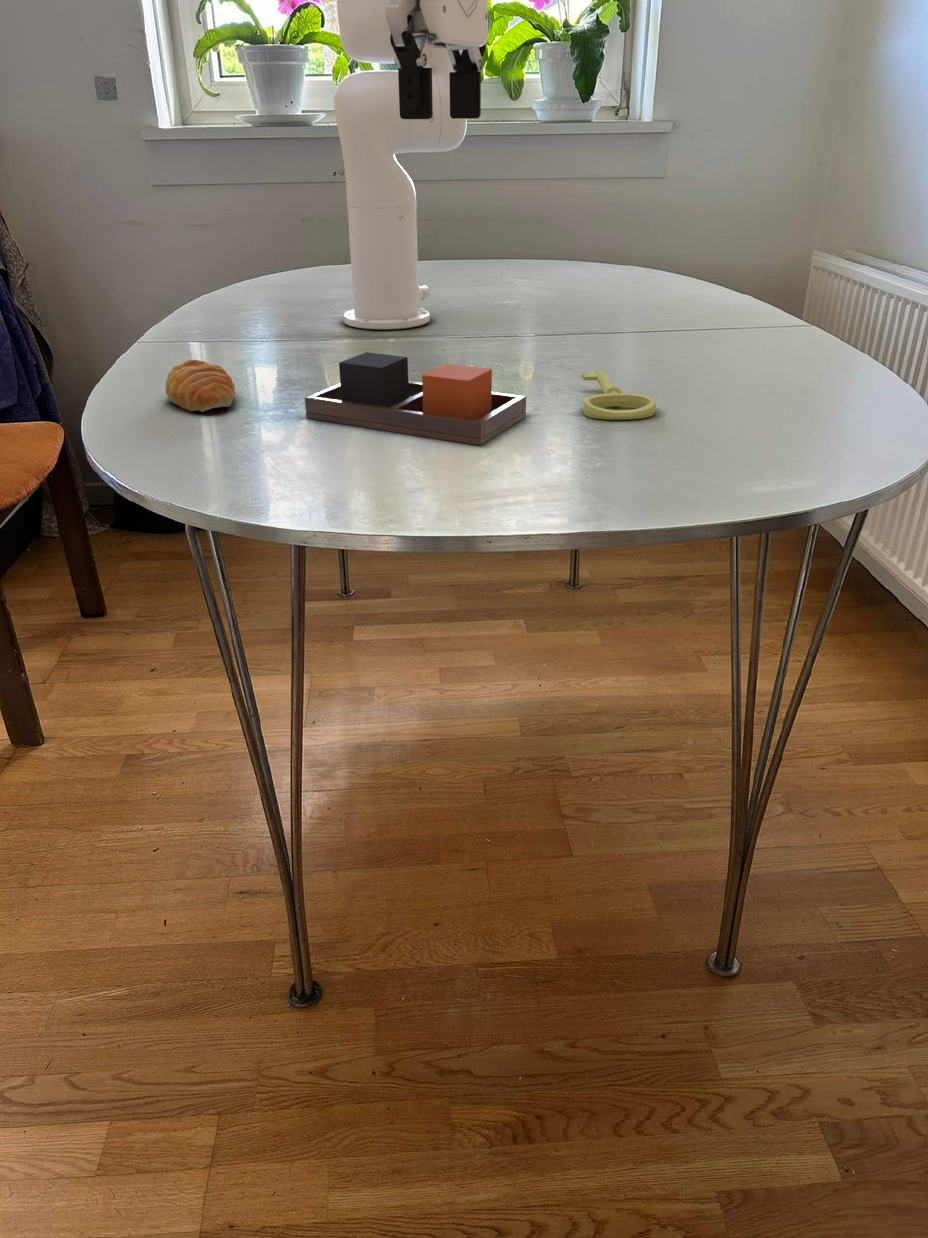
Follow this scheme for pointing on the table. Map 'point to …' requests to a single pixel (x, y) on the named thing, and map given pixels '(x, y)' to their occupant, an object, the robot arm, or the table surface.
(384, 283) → the robot arm
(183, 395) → the pastry
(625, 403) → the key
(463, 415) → the orange block
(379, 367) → the black block
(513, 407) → the brown divided tray
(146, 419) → the table surface
